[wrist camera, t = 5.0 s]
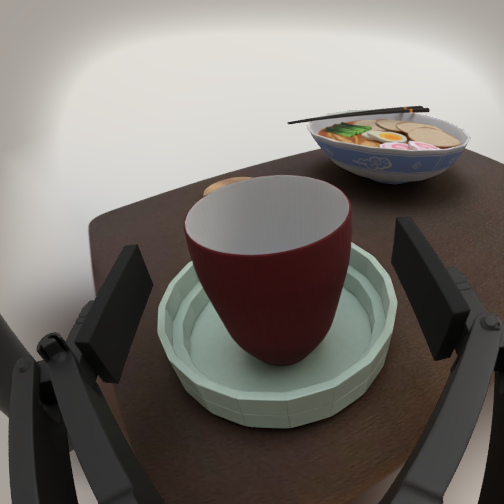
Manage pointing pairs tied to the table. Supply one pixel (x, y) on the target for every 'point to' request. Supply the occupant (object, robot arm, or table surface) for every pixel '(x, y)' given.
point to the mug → (273, 261)
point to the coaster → (223, 184)
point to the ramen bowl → (388, 143)
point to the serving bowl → (280, 377)
